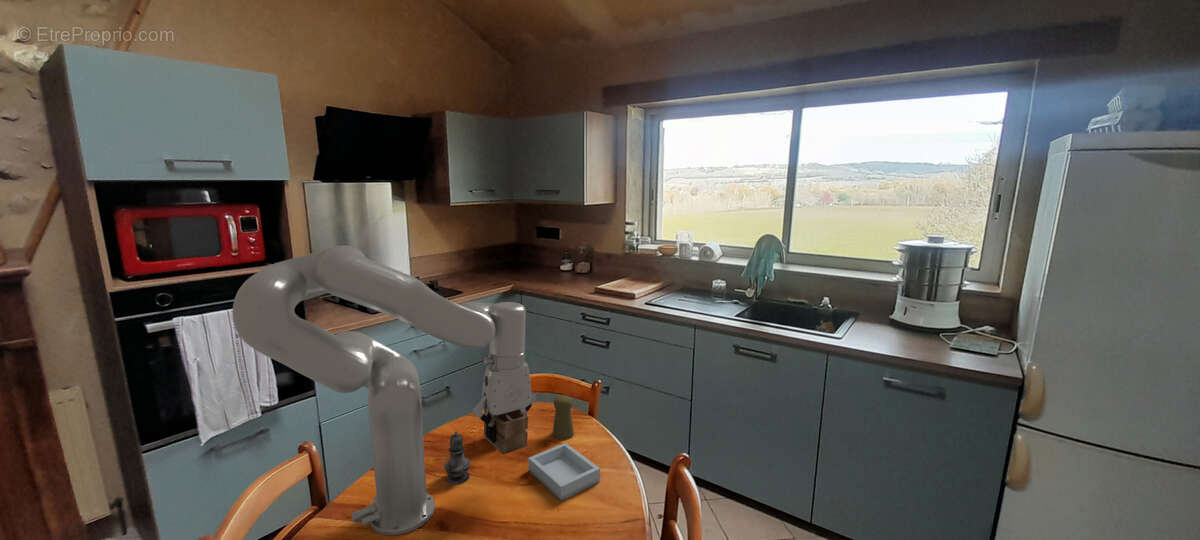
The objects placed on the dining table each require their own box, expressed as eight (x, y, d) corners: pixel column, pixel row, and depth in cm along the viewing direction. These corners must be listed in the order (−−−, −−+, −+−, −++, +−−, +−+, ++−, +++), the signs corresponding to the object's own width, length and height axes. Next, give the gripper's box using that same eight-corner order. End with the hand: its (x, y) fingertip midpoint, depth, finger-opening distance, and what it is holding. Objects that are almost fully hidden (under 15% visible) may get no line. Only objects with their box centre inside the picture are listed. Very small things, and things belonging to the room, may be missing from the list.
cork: (573, 440, 128) (573, 402, 126) (551, 439, 128) (550, 402, 126) (574, 428, 134) (574, 392, 132) (553, 428, 134) (553, 392, 132)
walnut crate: (502, 454, 100) (503, 424, 99) (483, 436, 107) (484, 407, 106) (527, 446, 104) (528, 416, 103) (507, 429, 111) (508, 401, 110)
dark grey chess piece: (463, 487, 108) (461, 439, 106) (440, 483, 109) (437, 436, 107) (475, 472, 114) (473, 426, 111) (452, 468, 115) (450, 423, 113)
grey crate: (561, 501, 104) (561, 486, 103) (528, 471, 114) (528, 457, 114) (599, 481, 110) (600, 468, 110) (565, 455, 121) (565, 442, 120)
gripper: (477, 372, 94) (476, 455, 97) (549, 357, 105) (546, 432, 108) (462, 361, 100) (461, 439, 103) (532, 347, 111) (530, 419, 113)
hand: (505, 435), depth 105 cm, fingers closed on walnut crate, 6 cm apart
